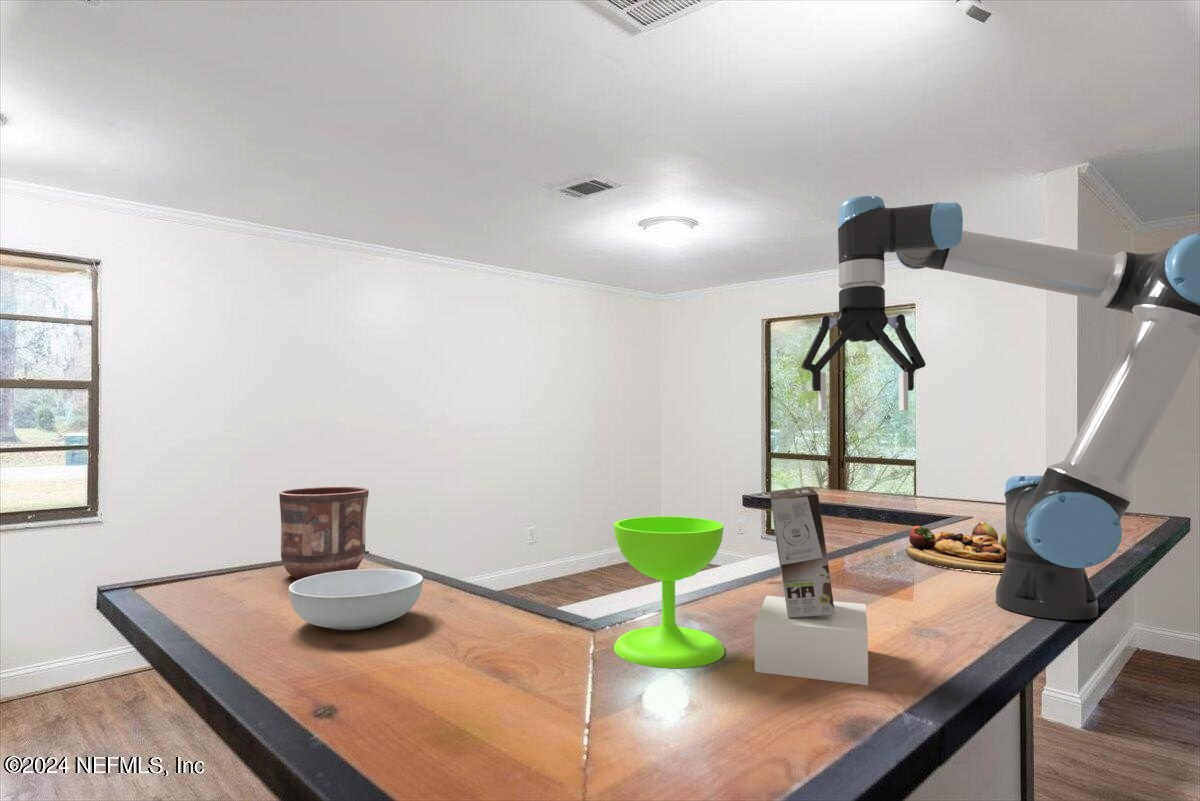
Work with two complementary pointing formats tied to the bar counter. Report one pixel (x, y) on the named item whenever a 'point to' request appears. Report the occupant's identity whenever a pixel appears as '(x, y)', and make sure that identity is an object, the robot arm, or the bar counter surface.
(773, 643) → the plinth block
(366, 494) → the pottery
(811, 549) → the coffee box
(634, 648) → the wineglass
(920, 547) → the wooden plate with food
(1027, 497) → the robot arm
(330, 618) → the serving bowl
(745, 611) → the bar counter surface
